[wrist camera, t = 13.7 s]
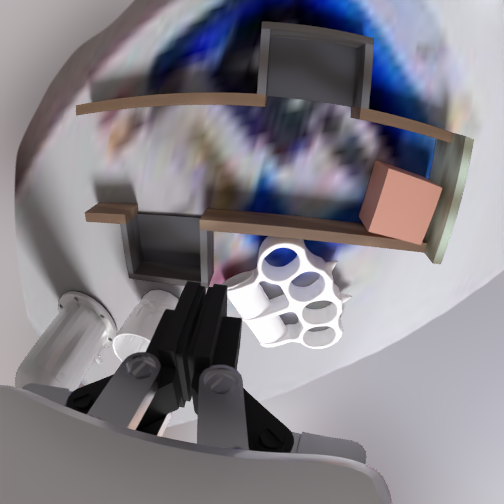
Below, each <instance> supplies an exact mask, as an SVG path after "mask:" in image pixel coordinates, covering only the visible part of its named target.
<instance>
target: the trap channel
mask: <svg viewBox="0 0 504 504" xmlns="http://www.w3.org/2000/svg"><path fill="white" fill-rule="evenodd" d="M373 46H374V38H371V37H367V36H363V35H358V34H354V33H349V32H344V31H339V30H334V29H328V28H322V27H315V26H308V25H300V24H291V23H279V22H264V21H262V30H261V44H260V58H259V72H258V87H257V94H251V93H217V92H207V93H173V94H157V95H145V96H135V97H126V98H118V99H111V100H104V101H98V102H92V103H86V104H81V105H76V115H82V114H88V113H95V112H102V111H109V110H118V109H127V108H137V107H150V106H166V105H246V106H262V107H266V103H267V96H274V97H285V98H295V99H303V100H311V101H318V102H325V103H332V104H338V105H343V106H349V107H352V111H351V118H355V119H361V120H366V121H370V122H375V123H380V124H384V125H388V126H393V127H397V128H401V129H405V130H408V131H412V132H416V133H419V134H423V135H426V136H430V137H433V138H436V144H435V150H434V156H433V162H432V167H431V172H430V177H429V180H431V181H432V182H434V183H435V184H437V185H439V186H440V187H442V191H441V194H440V197H439V200H438V203H437V205H436V208H435V211H434V213H433V216H432V219H431V221H430V224H429V226H428V229H427V231H426V234H425V236H424V239H423V241H422V244H421V245H418V244H415V243H411V242H407V241H403V240H400V239H396V238H392V237H388V236H384V235H380V234H376V233H372V232H368V230H367V229H366V227H365V226H364V224H362V223H354V222H346V221H337V220H329V219H320V218H311V217H301V216H291V215H281V214H271V213H260V212H249V211H237V210H224V209H210V208H207V209H206V210H205V212H204V214H203V215H202V217H190V216H176V215H160V214H144V213H138V204H120V203H98V204H97V205H95V206H94V207H92V208H91V209H89V210H88V211H86V212H85V217H86V222H101V223H116V224H120V225H121V232H122V239H123V246H124V252H125V258H126V264H127V270H128V275H129V278H132V279H139V280H146V281H153V282H160V283H168V284H176V285H184V286H185V285H186V283H187V281H192V282H200V283H201V286H205V288H208V287H209V284H210V281H211V279H212V276H213V273H214V262H213V231H218V232H230V233H241V234H252V235H263V236H274V237H284V238H295V239H305V240H315V241H325V242H334V243H344V244H353V245H362V246H371V247H380V248H389V249H398V250H407V251H415V252H424V253H425V254H426V255H427V257H428V258H429V259H430V260H431V262H432V263H434V264H441V262H442V259H443V257H444V254H445V251H446V248H447V245H448V242H449V239H450V236H451V233H452V230H453V227H454V224H455V220H456V217H457V214H458V210H459V206H460V203H461V199H462V195H463V191H464V187H465V183H466V178H467V174H468V169H469V164H470V159H471V153H472V148H473V141H474V139H471V138H469V137H466V136H463V135H459V134H455V133H452V132H449V131H446V130H443V129H440V128H437V127H434V126H431V125H428V124H425V123H421V122H418V121H415V120H411V119H407V118H404V117H400V116H396V115H392V114H388V113H384V112H380V111H375V110H371V109H369V101H370V91H371V79H372V65H373Z"/></svg>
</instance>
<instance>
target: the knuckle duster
mask: <svg viewBox="0 0 504 504" xmlns="http://www.w3.org/2000/svg"><path fill="white" fill-rule="evenodd" d="M277 248H289V249H292V250H293V251H295V252H296V253H297V256H296V258H295V259H294V260H293V261H291V262H290V263H289V264H287V265H285V266H283V267H274V266H271V265H270V264H268V263H267V262H266V261H265V259H264V258H265V257H266V256H267V255H268V254H269V253H271V252H272V251H273V250H275V249H277ZM336 263H337V261H330V262H325V261H324V260H323V259H322V258H321V257H318V256H316V255H314V254H312V253H311V252H310V251H309V250H308V249H307V247H306V246H305V243H304V239H295V238H284V237H274V236H268V237H267V238H266V239H265V240H264V241H263V242H262V244H261V246H260V249H259V255H258V262H257V267H256V268H255V269H253V270H251V271H247V272H242V273H239V274H237V275H235V276H233V277H231V278H229V279H228V280H226V281H225V282H224V283H223V284H222V285H227V296H228V298H229V299H230V301H231V302H232V303H233V305H234V306H235V308H236V309H237V311H238V312H239V313H240V315H241V316H242V320H243V321H244V322H246V323H247V325H248V326H249V327H250V329H251V330H252V332H253V333H254V334H255V336H256V337H257V338H258V340H259V341H260V342H259V343H260V345H261V346H264V347H275V346H278V345H282V344H285V343H288V342H300V343H302V344H303V345H304V346H306V347H309V348H314V349H321V348H326V347H329V346H331V345H333V344H335V343H336V342H337V341H338V340H339V339H340V338H341V336H342V334H343V328H342V323H341V319H340V315H341V313H342V304H343V303H344V302H345V301H347V300H348V299H349V298H350V297H352V296H350V295H347V294H344V293H340V291H339V287H338V286H337V285H335V284H334V283H333V276H332V271H333V269H334V267H335V265H336ZM307 271H314V272H317V273H319V274H321V276H320V278H319V279H318V280H317V281H315V282H314V283H312V284H311V285H309V286H306V287H298V286H295V285H294V284H292V283H291V281H292V280H293V279H294V278H296V277H297V276H298V275H300V274H301V273H304V272H307ZM261 281H267V282H269V283H272V284H277V285H279V286H280V287H281V288H282V290H283V292H284V294H283V295H281V296H278V297H275V298H273V299H270V300H269V298H268V297H267V295H266V294H265V292H264V290H263V289H262V287H261V285H260V284H259V282H261ZM322 300H327V301H331V302H332V303H331V304H330V305H329V306H327V307H325V308H322V309H308V308H306V307H305V306H306V305H307V304H309V303H311V302H315V301H322ZM286 312H294V313H296V315H297V316H298V318H299V320H298V322H297V323H296V324H286V325H285V324H284V323H283V321H282V319H281V318H280V316H279V315H281V314H284V313H286ZM320 326H328V327H329V328H328V329H326V330H323V331H317V332H311V331H308V330H309V329H310V328H313V327H320Z"/></svg>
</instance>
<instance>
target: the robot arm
mask: <svg viewBox="0 0 504 504" xmlns="http://www.w3.org/2000/svg"><path fill="white" fill-rule="evenodd" d="M58 310H59V314H58V315H57V316H56V318H55V319H54V320H53V321H52V323H51V324H50V325H49V327H48V328H47V329H46V330H45V332H44V333H43V334H42V336H41V337H40V338H39V340H38V341H37V342H36V344H35V345H34V346H33V348H32V349H31V351H30V352H29V353H28V355H27V356H26V357H25V359H24V360H23V362H22V363H21V365H20V366H19V368H18V370H17V372H16V377H15V386H16V387H13V386H5V385H0V504H392V499H391V495H390V492H389V489H388V486H387V484H386V482H385V480H384V478H383V476H382V475H381V474H380V473H379V472H378V471H377V470H375V469H374V468H372V467H370V466H368V465H365V463H366V451H365V449H364V448H363V446H362V445H360V444H359V443H358V442H354V441H352V440H344V439H338V438H331V437H325V436H320V435H315V434H310V433H305V432H302V433H301V434H299V433H294V432H291V431H290V430H289V429H288V428H287V427H286V426H285V425H284V424H283V423H281V422H280V421H279V420H278V419H277V418H276V417H274V416H273V415H272V414H271V413H270V412H269V411H268V410H267V409H265V408H264V407H263V406H262V405H261V404H260V403H259V402H258V401H257V400H256V399H254V398H253V397H252V396H251V395H250V394H249V393H248V392H247V391H246V390H245V389H244V388H243V381H242V377H241V375H240V373H239V372H238V371H237V363H238V355H239V348H240V338H241V326H242V318H235V317H227V285H219V284H214V285H213V287H208V290H207V293H206V289H205V286H201V283H200V282H192V281H187V283H186V285H185V287H184V289H183V292H182V294H181V296H180V298H179V301H178V303H177V305H176V308H175V310H171V309H166V310H165V311H164V313H163V315H162V317H161V319H160V321H159V324H158V326H157V328H156V330H155V332H154V334H153V337H152V339H151V341H150V343H149V345H148V348H147V350H146V352H137V353H134V354H131V355H130V356H128V357H127V358H126V359H125V360H124V361H123V362H122V364H121V365H120V366H119V368H118V369H117V371H116V372H115V374H114V375H111V376H109V377H106V378H104V379H101V380H99V381H96V382H94V383H91V384H88V385H86V386H84V387H81V388H78V386H79V385H80V383H81V381H82V379H83V377H84V376H85V374H86V372H87V370H88V368H89V367H90V365H92V364H93V363H94V359H95V361H96V363H101V362H102V359H101V357H100V355H99V353H100V352H101V350H102V348H106V347H109V346H111V345H112V342H113V339H114V337H115V336H116V334H117V329H116V326H115V323H114V321H113V319H112V318H111V316H110V315H109V313H108V312H107V311H106V310H105V308H104V307H103V306H101V305H100V304H99V303H98V302H97V301H96V300H94V299H93V298H91V297H89V296H88V295H85V294H83V293H80V292H76V291H70V292H67V293H65V294H64V295H63V296H62V297H61V298H60V300H59V302H58ZM77 388H78V389H77ZM191 397H192V398H193V404H194V410H195V413H196V414H197V415H198V424H197V444H195V443H189V442H184V441H179V440H174V439H169V438H164V437H162V436H163V433H164V431H165V429H166V427H167V425H168V423H169V421H170V419H171V416H172V412H173V411H175V410H177V409H179V407H184V406H185V402H186V401H190V400H191Z"/></svg>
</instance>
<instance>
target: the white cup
mask: <svg viewBox="0 0 504 504" xmlns="http://www.w3.org/2000/svg"><path fill="white" fill-rule="evenodd" d="M178 301H179V299H178V298H176V297H175V296H174V295H172V294H171V293H169V292H166V291H162V290H151V291H149V292H148V293H147V294H145V295H144V296H143V298H142V299H141V301H140V302H139V304H138V305H137V306H136V307H135V308H134V310H133V311H132V313H131V314H130V315H129V317H128V318H127V320H126V321H125V322H124V324H123V325H122V327H121V328H120V330H119V331H118V333H117V334H116V336H115V337H114V339H113V342H112V346H113V350H114V352H115V354H116V355H117V357H118V358H119V359H120V360H121V361H122V362H123V361H124V360H125V359H126V358H127V357H128V356H130V355H131V354H134V353H137V352H146V350H147V348H148V345H149V343H150V341H151V339H152V337H153V334H154V332H155V330H156V328H157V326H158V324H159V321H160V319H161V317H162V315H163V313H164V311H165V310H166V309H171V310H175V308H176V305H177V303H178Z"/></svg>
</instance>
